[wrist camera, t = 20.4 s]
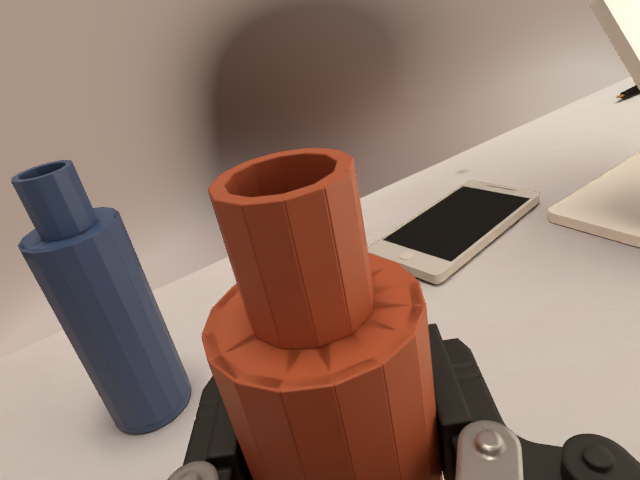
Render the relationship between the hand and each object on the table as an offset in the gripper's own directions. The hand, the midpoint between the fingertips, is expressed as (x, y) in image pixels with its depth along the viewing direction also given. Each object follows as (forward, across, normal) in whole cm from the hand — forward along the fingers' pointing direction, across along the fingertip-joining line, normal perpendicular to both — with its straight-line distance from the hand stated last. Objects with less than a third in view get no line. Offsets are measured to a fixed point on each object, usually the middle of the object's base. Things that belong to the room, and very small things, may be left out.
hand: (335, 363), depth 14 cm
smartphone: (+25, -10, +10) cm, 29 cm away
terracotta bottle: (-3, 0, +8) cm, 8 cm away
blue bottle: (+10, +12, +10) cm, 19 cm away
